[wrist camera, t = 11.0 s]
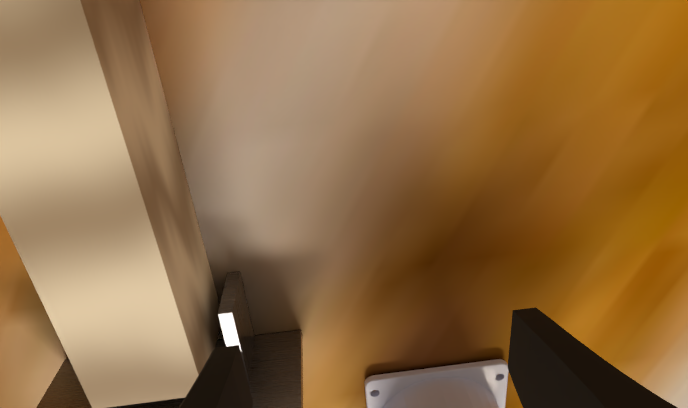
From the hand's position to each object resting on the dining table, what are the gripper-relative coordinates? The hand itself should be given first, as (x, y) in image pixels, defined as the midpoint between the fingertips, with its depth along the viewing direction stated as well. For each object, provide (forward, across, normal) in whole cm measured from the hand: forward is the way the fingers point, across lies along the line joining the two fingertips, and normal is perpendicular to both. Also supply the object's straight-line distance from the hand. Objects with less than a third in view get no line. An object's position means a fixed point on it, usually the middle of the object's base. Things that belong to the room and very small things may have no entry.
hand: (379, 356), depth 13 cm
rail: (+10, +9, -2) cm, 14 cm away
